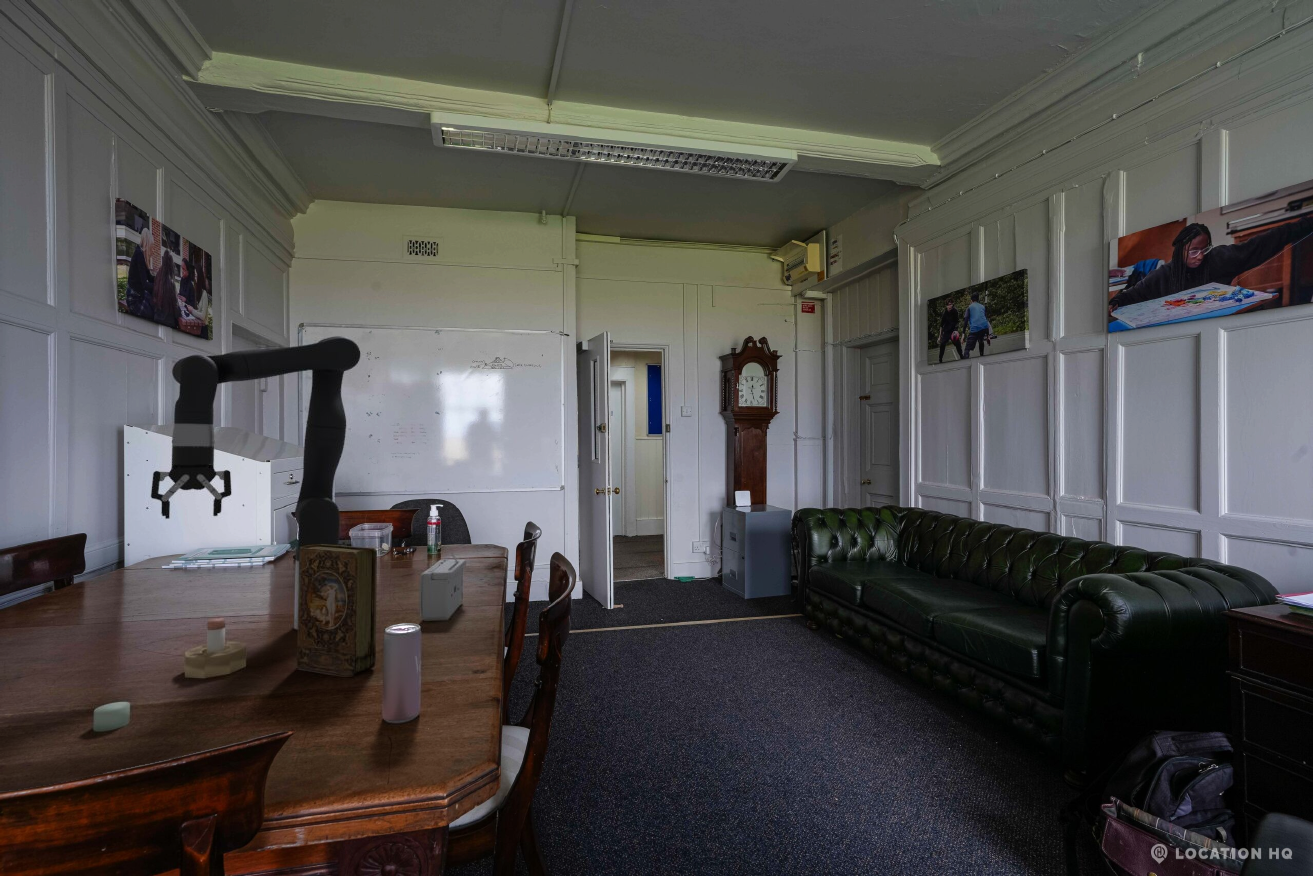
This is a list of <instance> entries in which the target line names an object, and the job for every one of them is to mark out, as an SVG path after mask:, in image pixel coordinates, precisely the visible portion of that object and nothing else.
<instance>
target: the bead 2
mask: <svg viewBox="0 0 1313 876" xmlns="http://www.w3.org/2000/svg"><path fill="white" fill-rule="evenodd" d="M246 666H247V646H246V644H245V641H244V642H243V641H226V640H225V651H221V652H215V653H207V644H201V645H199V646H197V647H194V648H191V649H189V650H186V651H185V652H184V678H189V679H190V678H192V679H207V678H213V677H218V676H225V675H229V674H230V675H231V674H232V673H234V672H237V671H239V670H241V669H244V668H247V667H246Z"/></svg>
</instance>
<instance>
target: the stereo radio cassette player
mask: <svg viewBox="0 0 1313 876" xmlns="http://www.w3.org/2000/svg"><path fill="white" fill-rule="evenodd" d="M445 547H446V548H447V549H448V551H449V553H450V555H451V556H452V558H453V559H440V560H438V561H437V562H435V563H434V564H433V565H432V566H430V567H429V568H427V569H426V570H425V571H423V572H422V573H421V574H420V580H419V617H420V619H422V620H423V621H424V622H429V621H444V622H445V621H448V620H449V619H450V618H451V616H452V615H453V614H454V613H455V612H456V610H458V608H459V607H460V606H461V605H462V603H463V595H464V594H463V592H464V589H463V588H464V587H463V586H464V568H465V567H466V566H467V560H466V559H457V558H456V556H455V555H454V553H453V552H452V551H451V549H450V548H449V546H448V545H446V546H445Z"/></svg>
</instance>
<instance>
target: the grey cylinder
mask: <svg viewBox="0 0 1313 876" xmlns="http://www.w3.org/2000/svg"><path fill="white" fill-rule="evenodd" d="M206 625H207V627H206V629H207V630H206V631H207V632H206V645H207V653H215V652H221V651H225V642H226V618H224V617H223V618H222V617H221V618H219V617H218V618H217V617H216V618H213V619H209V620H207V624H206Z"/></svg>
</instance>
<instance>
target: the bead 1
mask: <svg viewBox="0 0 1313 876" xmlns="http://www.w3.org/2000/svg"><path fill="white" fill-rule="evenodd" d="M130 707H131V703H130V702H128V701H118V702H112V703H111V702H110V703H107V704H104V705H103V704H102V705H101V706H99V707H97V708H95V709H94V711H93V726H92V727H93V731H94V732H109V731H114V730H117V729H120V728H123V727H125V726H127V725H128V724H130V715H131V708H130Z"/></svg>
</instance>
